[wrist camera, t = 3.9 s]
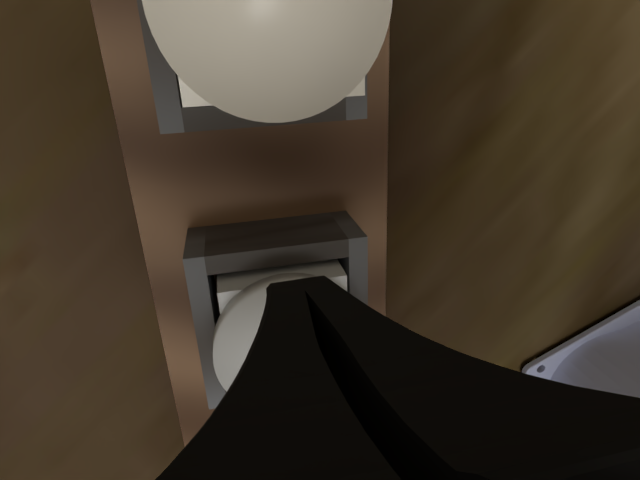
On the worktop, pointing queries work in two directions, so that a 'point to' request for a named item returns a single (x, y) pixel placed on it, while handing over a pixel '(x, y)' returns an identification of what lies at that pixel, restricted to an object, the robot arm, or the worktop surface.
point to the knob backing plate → (239, 194)
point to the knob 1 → (269, 52)
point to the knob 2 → (254, 309)
